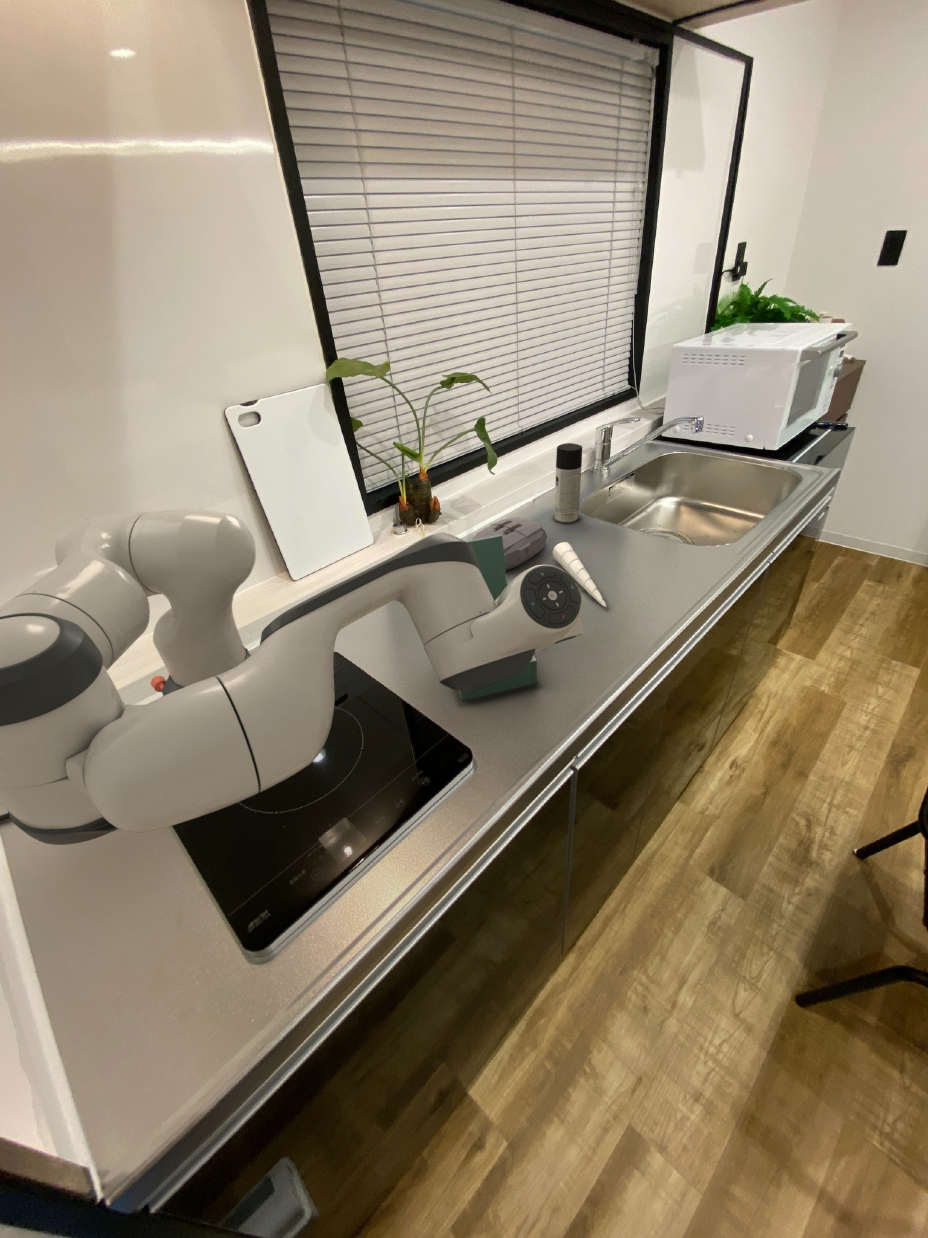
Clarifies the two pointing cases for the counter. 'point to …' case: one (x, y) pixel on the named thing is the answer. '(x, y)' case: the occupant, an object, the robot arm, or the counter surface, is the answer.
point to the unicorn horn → (576, 569)
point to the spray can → (568, 482)
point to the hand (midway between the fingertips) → (498, 641)
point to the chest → (506, 682)
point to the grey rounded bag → (517, 539)
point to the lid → (491, 562)
